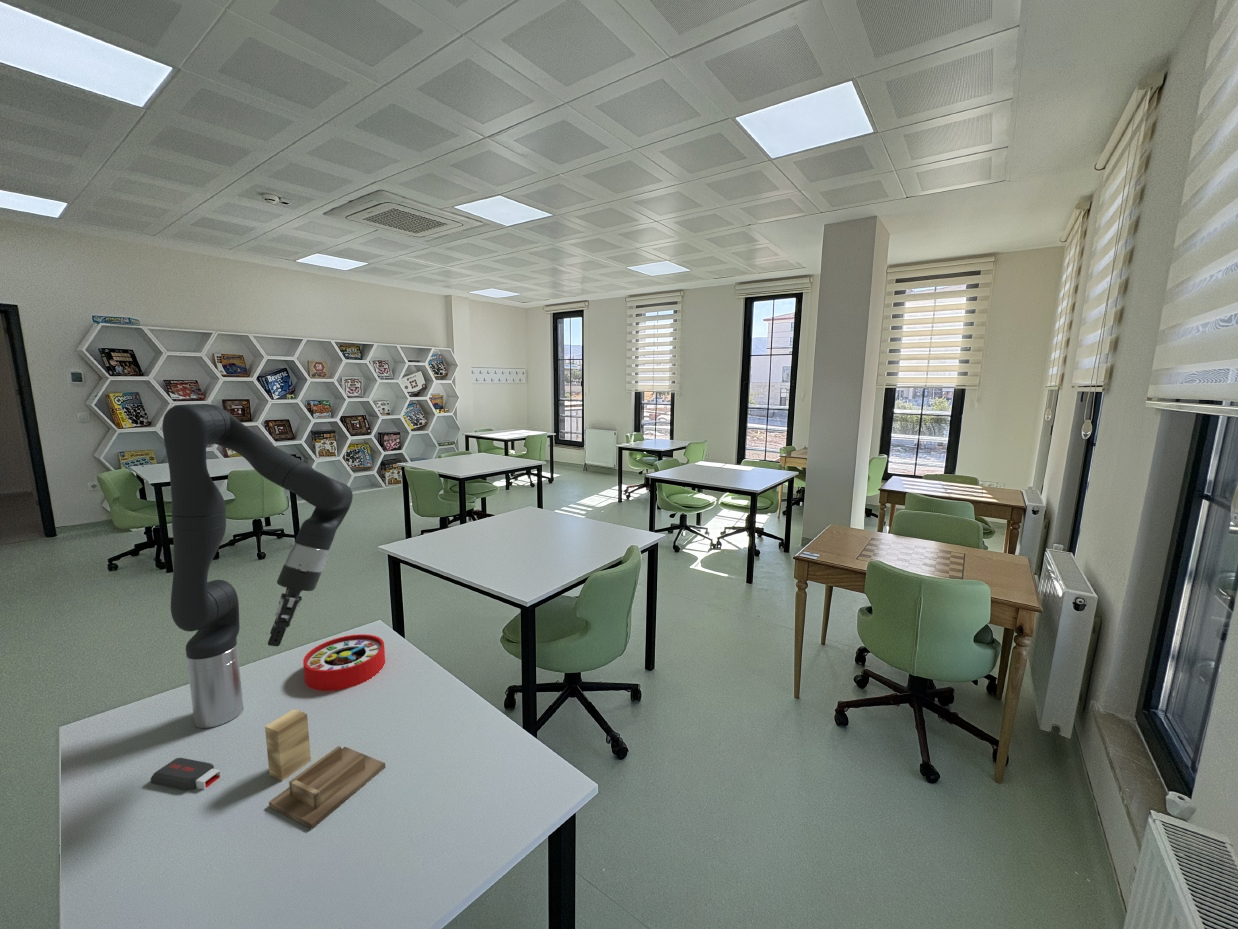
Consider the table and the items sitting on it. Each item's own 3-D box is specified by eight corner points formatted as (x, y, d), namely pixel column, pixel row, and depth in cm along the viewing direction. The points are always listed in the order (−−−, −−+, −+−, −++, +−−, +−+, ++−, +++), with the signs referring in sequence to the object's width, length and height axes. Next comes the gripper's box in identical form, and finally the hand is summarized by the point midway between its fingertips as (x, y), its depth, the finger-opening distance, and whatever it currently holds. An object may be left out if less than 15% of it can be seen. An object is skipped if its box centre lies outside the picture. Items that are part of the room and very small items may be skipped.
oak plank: (269, 775, 99) (264, 726, 98) (298, 755, 105) (294, 708, 103) (282, 781, 98) (277, 731, 96) (310, 761, 103) (307, 713, 102)
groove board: (269, 806, 92) (267, 788, 91) (345, 750, 106) (344, 734, 106) (312, 829, 87) (310, 809, 87) (385, 767, 102) (384, 750, 101)
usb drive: (179, 765, 102) (177, 754, 102) (226, 775, 100) (224, 763, 99) (151, 785, 97) (149, 772, 97) (199, 795, 95) (198, 782, 94)
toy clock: (288, 656, 133) (359, 628, 150) (290, 676, 134) (361, 645, 151) (327, 680, 123) (398, 646, 140) (328, 701, 124) (399, 665, 141)
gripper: (285, 558, 112) (256, 629, 108) (283, 566, 100) (250, 646, 96) (321, 565, 116) (294, 634, 112) (323, 574, 104) (293, 652, 100)
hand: (274, 640), depth 104 cm, fingers open, 8 cm apart
